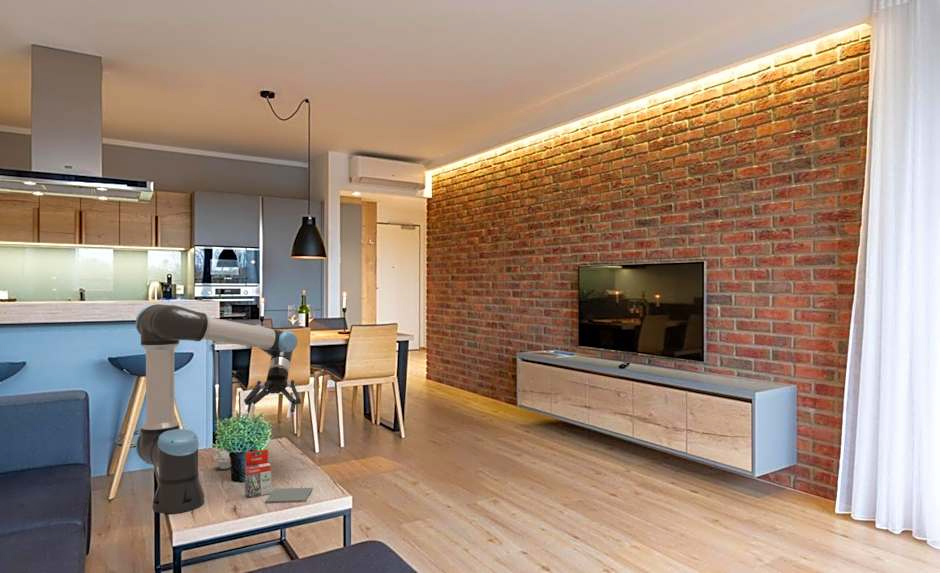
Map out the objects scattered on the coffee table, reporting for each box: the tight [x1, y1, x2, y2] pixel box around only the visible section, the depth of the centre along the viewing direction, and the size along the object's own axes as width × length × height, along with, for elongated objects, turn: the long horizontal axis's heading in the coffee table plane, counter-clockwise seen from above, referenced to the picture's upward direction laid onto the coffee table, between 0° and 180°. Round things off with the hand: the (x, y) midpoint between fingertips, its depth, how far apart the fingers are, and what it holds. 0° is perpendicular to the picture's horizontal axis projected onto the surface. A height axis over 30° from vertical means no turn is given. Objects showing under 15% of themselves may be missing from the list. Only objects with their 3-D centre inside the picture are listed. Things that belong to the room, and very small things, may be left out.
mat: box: [264, 487, 314, 504], centre depth 203 cm, size 13×12×1 cm
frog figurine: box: [214, 450, 231, 470], centre depth 234 cm, size 6×7×7 cm
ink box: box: [244, 448, 272, 499], centre depth 205 cm, size 4×8×15 cm, turn 123°
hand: (269, 419), depth 218 cm, fingers open, 13 cm apart
